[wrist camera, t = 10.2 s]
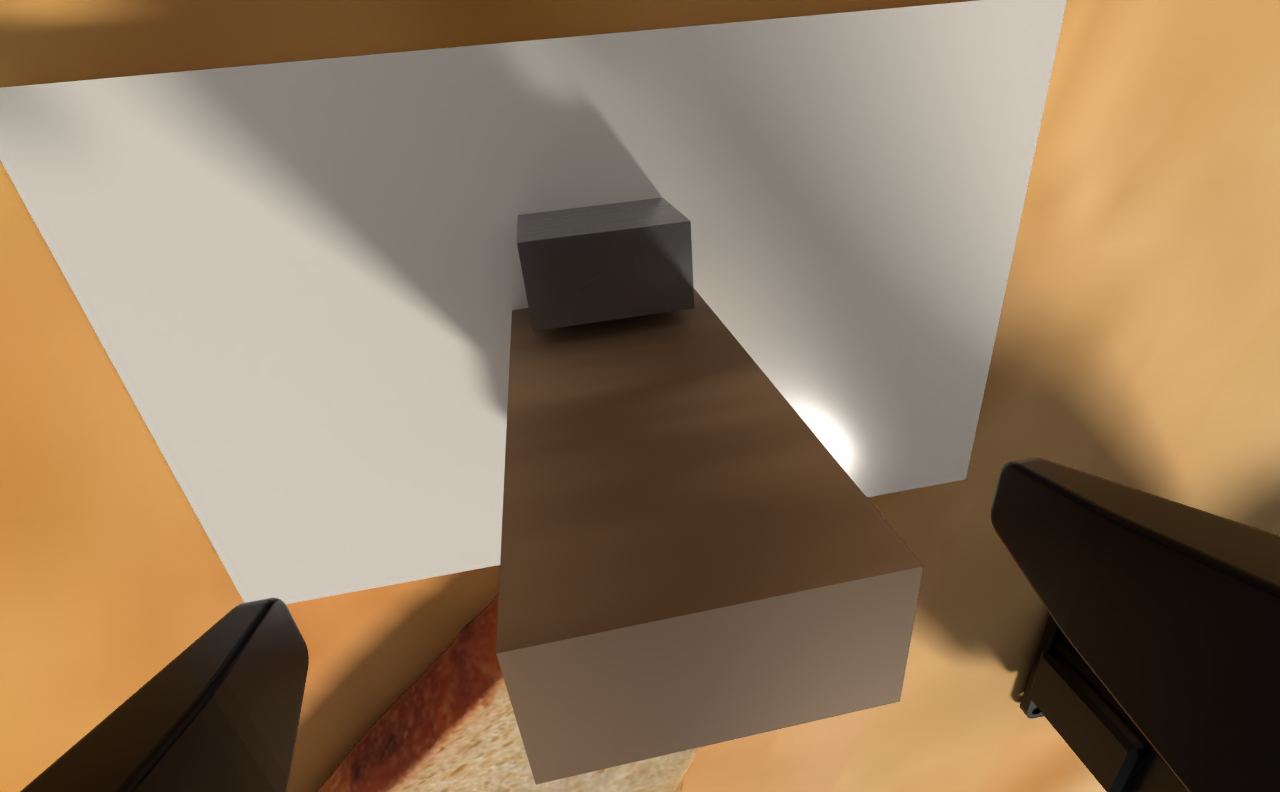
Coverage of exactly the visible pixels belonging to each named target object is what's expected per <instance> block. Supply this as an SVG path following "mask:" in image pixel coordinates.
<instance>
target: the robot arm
mask: <svg viewBox="0 0 1280 792" xmlns="http://www.w3.org/2000/svg"><path fill="white" fill-rule="evenodd" d="M991 520H992V524H993V527H994V529H995V531H996V533H997V534H998V536H999V537H1000V539H1001V540H1002V542H1003V543H1004V545H1005V546H1006V548H1007V549H1008V551H1009V552H1010V554H1011V555H1012V557H1013V559H1014V560H1015V562H1016V563H1017V565H1018V566H1019V568H1020V569H1021V571H1022V572H1023V574H1024V575H1025V577H1026V578H1027V580H1028V581H1029V583H1030V584H1031V586H1032V587H1033V589H1034V590H1035V592H1036V593H1037V595H1038V596H1039V598H1040V599H1041V601H1042V603H1043V604H1044V606H1045V607H1046V609H1047V610H1048V612H1049V613H1050V617H1049V620H1048V623H1047V626H1046V629H1045V632H1044V635H1043V638H1042V641H1041V644H1040V647H1039V650H1038V653H1037V656H1036V659H1035V662H1034V665H1033V668H1032V671H1031V674H1030V677H1029V680H1028V683H1027V685H1026V688H1025V691H1024V694H1023V697H1022V700H1021V703H1020V708H1021V709H1022V710H1023V712H1024V713H1025V714H1026V716H1027V717H1028V718H1037V717H1042V716H1045V717H1046V718H1047V720H1048V721H1049V722H1050V723H1051V724H1052V726H1053V727H1054V728H1055V729H1056V731H1057V732H1058V733H1059V734H1060V735H1061V737H1062V738H1063V739H1064V740H1065V741H1066V743H1067V744H1068V745H1069V746H1070V748H1071V749H1072V750H1073V751H1074V752H1075V754H1076V755H1077V756H1078V757H1079V759H1080V760H1081V761H1082V762H1083V763H1084V765H1085V766H1086V767H1087V768H1088V769H1089V771H1090V772H1091V773H1092V774H1093V776H1094V777H1095V778H1096V779H1097V780H1098V782H1099V783H1100V784H1101V785H1102V787H1103V788H1104V789H1105V790H1106V791H1107V792H1280V536H1279V535H1275V534H1272V533H1269V532H1266V531H1263V530H1260V529H1257V528H1254V527H1251V526H1248V525H1245V524H1242V523H1239V522H1235V521H1232V520H1229V519H1226V518H1223V517H1220V516H1217V515H1214V514H1211V513H1208V512H1205V511H1202V510H1198V509H1195V508H1192V507H1189V506H1186V505H1183V504H1180V503H1177V502H1174V501H1171V500H1168V499H1165V498H1161V497H1158V496H1155V495H1152V494H1149V493H1146V492H1143V491H1140V490H1137V489H1134V488H1131V487H1128V486H1124V485H1121V484H1118V483H1115V482H1112V481H1109V480H1106V479H1103V478H1100V477H1097V476H1094V475H1091V474H1088V473H1084V472H1081V471H1078V470H1075V469H1072V468H1069V467H1066V466H1063V465H1060V464H1057V463H1054V462H1051V461H1047V460H1044V459H1041V458H1030V459H1025V460H1019V461H1014V462H1010V463H1008V464H1006V465H1005V466H1004V467H1003V468H1002V469H1001V472H1000V475H999V479H998V483H997V488H996V492H995V496H994V500H993V504H992V508H991ZM308 660H309V657H308V650H307V646H306V643H305V641H304V639H303V637H302V635H301V633H300V631H299V629H298V627H297V625H296V623H295V621H294V619H293V617H292V616H291V614H290V612H289V610H288V608H287V606H286V604H285V603H284V602H283V601H282V600H281V599H279V598H267V599H262V600H257V601H251V602H246V603H243V604H240V605H238V606H236V607H235V608H234V609H232V610H231V611H230V612H229V613H228V614H226V615H225V616H224V617H223V618H222V619H221V620H219V621H218V622H217V623H216V624H215V625H214V626H212V627H211V628H210V629H209V630H208V631H207V632H205V633H204V634H203V635H202V636H201V637H200V638H198V639H197V640H196V641H195V642H194V643H193V644H191V645H190V646H189V647H188V648H187V649H186V650H184V651H183V652H182V653H181V654H180V655H179V656H178V657H176V658H175V659H174V660H173V661H172V662H171V663H169V664H168V665H167V666H166V667H165V668H164V669H162V670H161V671H160V672H159V673H158V674H157V675H155V676H154V677H153V678H152V679H151V680H150V681H148V682H147V683H146V684H145V685H144V686H143V687H141V688H140V689H139V690H138V691H137V692H136V693H134V694H133V695H132V696H131V697H130V698H129V699H127V700H126V701H125V702H124V703H123V704H122V705H120V706H119V707H118V708H117V709H116V710H115V711H114V712H112V713H111V714H110V715H109V716H108V717H107V718H105V719H104V720H103V721H102V722H101V723H100V724H98V725H97V726H96V727H95V728H94V729H93V730H91V731H90V732H89V733H88V734H87V735H86V736H84V737H83V738H82V739H81V740H80V741H79V742H77V743H76V744H75V745H74V746H73V747H72V748H70V749H69V750H68V751H67V752H66V753H65V754H63V755H62V756H61V757H60V758H59V759H58V760H56V761H55V762H54V763H53V764H52V765H51V766H50V767H48V768H47V769H46V770H45V771H44V772H43V773H41V774H40V775H39V776H38V777H37V778H36V779H34V780H33V781H32V782H31V783H30V784H29V785H27V786H26V787H25V788H24V789H23V790H22V791H20V792H287V789H288V784H289V778H290V772H291V766H292V760H293V754H294V748H295V742H296V736H297V730H298V724H299V718H300V712H301V706H302V700H303V694H304V689H305V683H306V677H307V671H308Z"/></svg>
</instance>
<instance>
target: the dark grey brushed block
mask: <svg viewBox="0 0 1280 792" xmlns="http://www.w3.org/2000/svg"><path fill="white" fill-rule="evenodd" d="M517 247H518V253H519V258H520V264H521V269H522V275H523V280H524V286H525V291H526V297H527V302H528V308H529V313H530V319H531V324H532V330H533V331H538V330H545V329H552V328H559V327H566V326H573V325H580V324H587V323H594V322H601V321H609V320H616V319H623V318H630V317H637V316H644V315H651V314H658V313H665V312H672V311H679V310H686V309H693V308H694V286H693V263H692V241H691V221H690V220H689V219H688V218H686V217H685V216H684V215H683V214H682V213H680V212H679V211H678V210H677V209H676V208H675V207H673V206H672V205H671V204H670V203H669V202H667V201H666V200H665V199H664V198H654V199H646V200H638V201H630V202H621V203H613V204H605V205H596V206H588V207H580V208H571V209H563V210H555V211H547V212H538V213H530V214H522V215H518V221H517Z"/></svg>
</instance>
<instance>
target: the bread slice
mask: <svg viewBox="0 0 1280 792" xmlns="http://www.w3.org/2000/svg"><path fill="white" fill-rule="evenodd" d="M498 602H499V594H498V595H497V596H496V597H495V599H494V600H493V601H492V602H491V604H490V605H489V606H488V607H487V608H486V609H485V610H484V611H483V612H482V613H481V614H480V615H479V616H477V617H476V618H475V619H474V620H472V621H471V622H470V623H469V624H467V625H466V626H465V627H464V628H463V629H462V631H461V632H460V633H459V635H458V636H457V638H456V639H455V641H454V642H453V643H452V645H451V646H450V647H449V648H448V649H447V650H446V651H445V652H444V653H443V654H442V655H441V656H440V657H439V658H437V659H436V660H435V661H434V662H433V663H432V664H431V665H430V666H429V668H428V669H427V670H426V671H425V673H424V674H423V675H422V676H421V678H420V679H419V680H418V681H417V682H416V683H415V684H414V685H413V686H412V687H411V688H409V689H408V690H407V691H406V692H405V693H404V694H403V695H402V696H401V697H400V698H399V699H398V700H397V701H396V702H395V703H394V704H393V705H392V706H391V707H390V708H389V710H388V711H387V712H386V713H385V714H384V715H383V716H382V717H381V718H380V719H379V720H378V721H377V723H376V724H375V725H374V726H373V727H372V728H371V729H370V730H369V731H368V732H367V733H366V735H365V736H364V737H363V738H362V739H361V740H360V741H359V742H358V743H357V744H356V745H355V746H354V748H353V749H352V750H351V751H350V753H349V754H348V755H347V757H346V758H345V759H344V760H343V762H342V763H341V764H340V765H339V766H338V768H337V769H336V770H335V772H334V773H333V774H332V776H331V777H330V778H329V779H328V780H327V781H326V782H325V783H324V784H323V785H322V787H321V788H320V789H319V790H318V792H682V785H683V779H684V776H685V772H686V771H687V770H688V768H689V767H690V765H691V763H692V761H693V759H694V757H695V756H696V754H697V752H698V751H699V749H700V748H701V747H698V748H694V749H689V750H685V751H681V752H676V753H672V754H668V755H663V756H659V757H655V758H650V759H646V760H641V761H637V762H633V763H628V764H624V765H620V766H615V767H611V768H606V769H602V770H598V771H593V772H589V773H585V774H580V775H576V776H572V777H567V778H563V779H558V780H554V781H550V782H545V783H541V784H537V785H536V784H535V780H534V777H533V774H532V770H531V767H530V764H529V761H528V757H527V754H526V751H525V747H524V744H523V741H522V737H521V734H520V731H519V728H518V724H517V721H516V718H515V714H514V711H513V708H512V705H511V701H510V698H509V695H508V691H507V688H506V685H505V681H504V678H503V675H502V672H501V668H500V665H499V662H498V658H497V655H496V645H497V623H498Z"/></svg>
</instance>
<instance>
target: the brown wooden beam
mask: <svg viewBox="0 0 1280 792" xmlns="http://www.w3.org/2000/svg"><path fill="white" fill-rule="evenodd" d="M923 567H924V566H923V565H922V564H921V563H920V561H919V560H918V559H917V558H916V556H915V555H914V554H913V553H912V552H911V550H910V549H909V548H908V547H907V546H906V544H905V543H904V542H903V541H902V540H901V538H900V537H899V536H898V535H897V533H896V532H895V531H894V530H893V529H892V527H891V526H890V525H889V524H888V523H887V521H886V520H885V519H884V518H883V516H882V515H881V514H880V513H879V512H878V510H877V509H876V508H875V507H874V506H873V504H872V503H871V502H870V501H869V500H868V498H867V497H866V496H865V495H864V493H863V492H862V491H861V490H860V489H859V487H858V486H857V485H856V484H855V483H854V481H853V480H852V479H851V478H850V476H849V475H848V474H847V473H846V472H845V470H844V469H843V468H842V467H841V466H840V464H839V463H838V462H837V461H836V460H835V458H834V457H833V456H832V455H831V453H830V452H829V451H828V450H827V449H826V447H825V446H824V445H823V444H822V443H821V441H820V440H819V439H818V438H817V436H816V435H815V434H814V433H813V432H812V430H811V429H810V428H809V427H808V426H807V424H806V423H805V422H804V421H803V420H802V418H801V417H800V416H799V415H798V413H797V412H796V411H795V410H794V409H793V407H792V406H791V405H790V404H789V403H788V401H787V400H786V399H785V398H784V396H783V395H782V394H781V393H780V392H779V390H778V389H777V388H776V387H775V386H774V384H773V383H772V382H771V381H770V380H769V378H768V377H767V376H766V375H765V373H764V372H763V371H762V370H761V369H760V367H759V366H758V365H757V364H756V363H755V361H754V360H753V359H752V358H751V356H750V355H749V354H748V353H747V352H746V350H745V349H744V348H743V347H742V346H741V344H740V343H739V342H738V341H737V340H736V338H735V337H734V336H733V335H732V333H731V332H730V331H729V330H728V329H727V327H726V326H725V325H724V324H723V323H722V321H721V320H720V319H719V318H718V316H717V315H716V314H715V313H714V312H713V310H712V309H711V308H710V307H709V306H708V304H707V303H706V302H705V301H704V300H703V298H702V297H701V296H700V295H699V293H698V292H697V291H696V290H695V289H694V308H693V309H686V310H679V311H672V312H665V313H658V314H651V315H644V316H637V317H630V318H623V319H616V320H609V321H601V322H594V323H587V324H580V325H573V326H566V327H559V328H552V329H545V330H538V331H533V330H532V324H531V319H530V313H529V308H524V309H518V310H512V318H511V340H510V362H509V383H508V405H507V427H506V449H505V471H504V493H503V514H502V536H501V558H500V580H499V602H498V623H497V645H496V655H497V658H498V662H499V665H500V668H501V672H502V675H503V678H504V681H505V685H506V688H507V691H508V695H509V698H510V701H511V705H512V708H513V711H514V714H515V718H516V721H517V724H518V728H519V731H520V734H521V737H522V741H523V744H524V747H525V751H526V754H527V757H528V761H529V764H530V767H531V770H532V774H533V777H534V780H535V784H536V785H537V784H541V783H545V782H550V781H554V780H558V779H563V778H567V777H572V776H576V775H580V774H585V773H589V772H593V771H598V770H602V769H606V768H611V767H615V766H620V765H624V764H628V763H633V762H637V761H641V760H646V759H650V758H655V757H659V756H663V755H668V754H672V753H676V752H681V751H685V750H689V749H694V748H698V747H703V746H707V745H711V744H716V743H720V742H724V741H729V740H733V739H737V738H742V737H746V736H751V735H755V734H759V733H764V732H768V731H772V730H777V729H781V728H786V727H790V726H794V725H799V724H803V723H807V722H812V721H816V720H820V719H825V718H829V717H834V716H838V715H842V714H847V713H851V712H855V711H860V710H864V709H868V708H873V707H877V706H882V705H886V704H890V703H895V702H899V701H900V697H901V691H902V686H903V680H904V674H905V669H906V663H907V657H908V652H909V646H910V640H911V635H912V629H913V623H914V618H915V612H916V607H917V601H918V595H919V590H920V584H921V578H922V573H923Z"/></svg>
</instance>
